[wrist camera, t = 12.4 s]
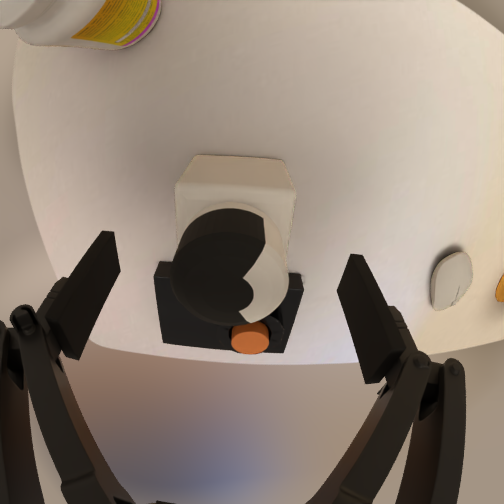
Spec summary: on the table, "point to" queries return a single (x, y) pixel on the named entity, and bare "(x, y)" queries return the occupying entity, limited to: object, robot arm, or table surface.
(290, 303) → the machine
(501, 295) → the cup
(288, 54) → the table surface
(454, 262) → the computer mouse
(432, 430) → the robot arm
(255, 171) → the medicine bottle
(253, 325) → the button
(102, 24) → the supplement bottle
